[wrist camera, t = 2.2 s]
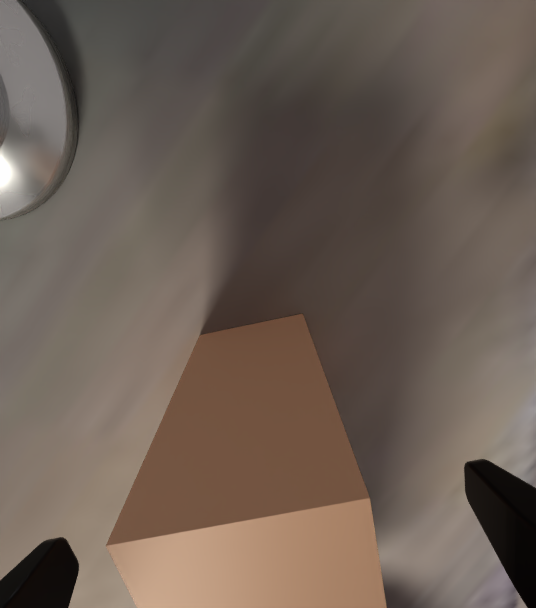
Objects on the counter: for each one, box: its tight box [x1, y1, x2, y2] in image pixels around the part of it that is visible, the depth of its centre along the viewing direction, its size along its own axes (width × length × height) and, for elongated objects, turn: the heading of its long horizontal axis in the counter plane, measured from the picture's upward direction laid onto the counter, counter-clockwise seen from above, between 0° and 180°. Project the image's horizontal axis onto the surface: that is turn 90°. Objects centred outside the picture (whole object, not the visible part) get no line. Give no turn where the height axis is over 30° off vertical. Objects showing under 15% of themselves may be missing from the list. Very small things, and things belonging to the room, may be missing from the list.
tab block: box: [106, 314, 387, 608], centre depth 9 cm, size 4×4×8 cm
